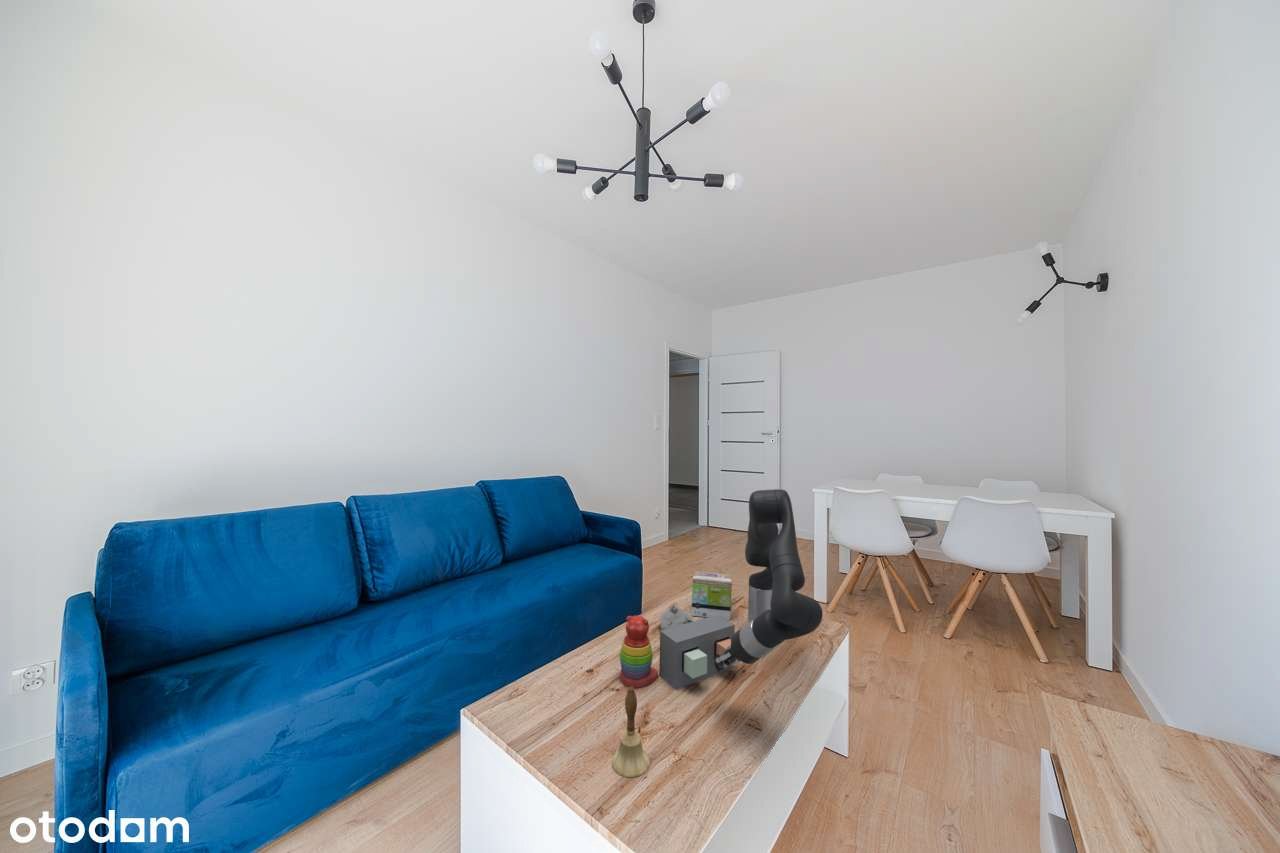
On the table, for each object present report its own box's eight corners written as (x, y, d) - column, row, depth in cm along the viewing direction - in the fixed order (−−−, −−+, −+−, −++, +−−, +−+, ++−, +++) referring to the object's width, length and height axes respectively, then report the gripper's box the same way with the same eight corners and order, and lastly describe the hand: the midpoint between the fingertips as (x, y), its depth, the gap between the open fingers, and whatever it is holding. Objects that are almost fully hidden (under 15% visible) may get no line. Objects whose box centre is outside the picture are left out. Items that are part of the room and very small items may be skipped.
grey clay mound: (684, 647, 148) (680, 620, 146) (654, 637, 155) (651, 611, 152) (698, 624, 158) (695, 599, 155) (670, 616, 164) (667, 592, 162)
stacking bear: (660, 674, 127) (661, 613, 127) (646, 692, 118) (647, 627, 118) (627, 664, 132) (628, 606, 132) (611, 682, 122) (612, 619, 123)
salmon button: (728, 655, 130) (729, 638, 130) (738, 661, 126) (738, 644, 126) (716, 659, 127) (716, 642, 127) (725, 666, 124) (725, 648, 124)
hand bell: (610, 777, 89) (611, 700, 89) (612, 747, 97) (614, 677, 98) (650, 778, 89) (652, 700, 89) (649, 748, 98) (650, 677, 98)
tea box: (691, 617, 166) (692, 578, 166) (692, 606, 176) (693, 570, 176) (731, 620, 164) (731, 581, 164) (730, 609, 174) (730, 573, 174)
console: (715, 655, 138) (716, 614, 138) (733, 667, 131) (734, 624, 131) (659, 675, 126) (660, 630, 126) (675, 689, 120) (676, 642, 120)
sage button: (697, 666, 123) (698, 648, 123) (706, 673, 120) (707, 655, 120) (683, 671, 121) (684, 653, 121) (692, 678, 117) (693, 660, 117)
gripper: (764, 618, 109) (729, 645, 119) (726, 631, 101) (691, 658, 112) (781, 649, 104) (742, 674, 114) (742, 664, 97) (704, 690, 107)
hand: (717, 666), depth 113 cm, fingers closed
